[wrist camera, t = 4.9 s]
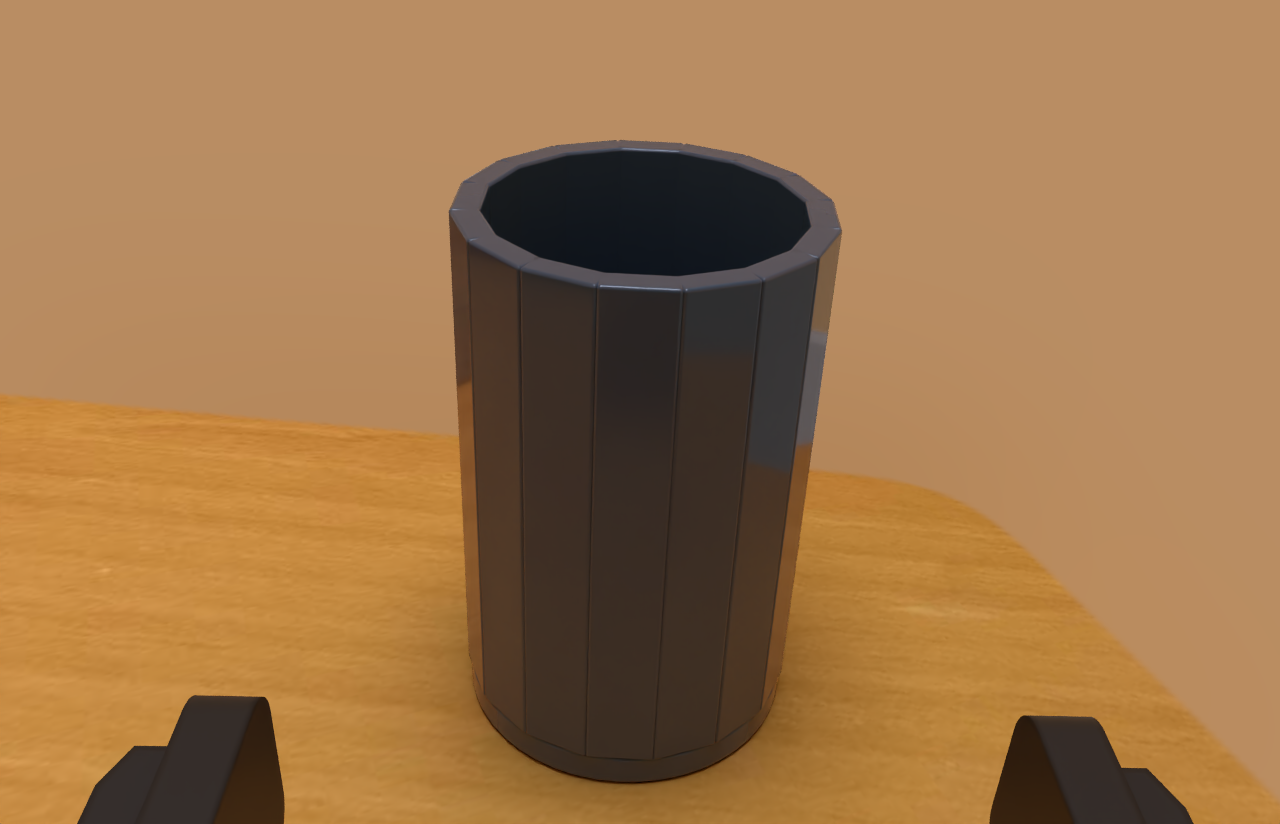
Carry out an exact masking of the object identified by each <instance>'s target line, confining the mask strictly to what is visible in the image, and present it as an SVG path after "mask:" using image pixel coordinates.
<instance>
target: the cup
mask: <svg viewBox="0 0 1280 824" xmlns="http://www.w3.org/2000/svg"><path fill="white" fill-rule="evenodd" d="M449 226H450V247H451V270H452V292H453V312H454V313H453V314H454V335H455V356H456V379H457V400H458V421H459V422H458V423H459V445H460V467H461V489H462V510H463V532H464V554H465V576H466V598H467V620H468V642H469V656H470V659H471V661H472V670H473V683H474V687H475V691H476V695H477V698H478V700H479V702H480V704H481V707H482V709H483V711H484V712H485V714H486V715H487V717H488V718H489V720H490V721H491V723H492V724H493V726H494V727H495V728H496V729H497V730H498V731H499V732H500V733H501V734H502V735H503V736H504V737H505V738H506V739H507V740H508V741H509V742H511V743H512V744H513V745H514V746H516V747H517V748H518V749H519V750H521V751H522V752H524V753H526V754H527V755H529V756H531V757H532V758H534V759H536V760H537V761H540V762H542V763H544V764H546V765H548V766H551V767H553V768H555V769H558V770H561V771H564V772H567V773H570V774H573V775H577V776H582V777H587V778H591V779H596V780H605V781H615V782H644V781H654V780H663V779H667V778H672V777H677V776H682V775H685V774H688V773H691V772H694V771H697V770H700V769H703V768H705V767H707V766H709V765H711V764H713V763H716V762H718V761H720V760H721V759H723V758H725V757H726V756H728V755H729V754H731V753H732V752H734V751H736V750H737V749H738V748H739V747H740V746H741V745H743V744H744V743H745V742H746V741H747V740H749V738H750V737H751V736H752V735H753V734H754V733H755V732H756V730H757V729H758V728H759V727H760V726H761V724H762V723H763V721H764V719H765V718H766V716H767V714H768V713H769V710H770V708H771V705H772V703H773V700H774V697H775V692H776V686H777V680H778V677H779V675H780V673H781V669H782V662H783V655H784V648H785V640H786V633H787V626H788V619H789V611H790V604H791V597H792V590H793V582H794V575H795V568H796V561H797V553H798V546H799V539H800V532H801V524H802V517H803V510H804V503H805V496H806V488H807V481H808V474H809V467H810V458H811V452H812V445H813V438H814V429H815V423H816V416H817V408H818V401H819V394H820V387H821V379H822V372H823V364H824V358H825V350H826V343H827V336H828V329H829V322H830V314H831V307H832V299H833V293H834V285H835V278H836V271H837V264H838V256H839V249H840V242H841V235H842V230H841V226H840V222H839V219H838V215H837V212H836V208H835V204H834V202H833V201H832V199H831V198H829V197H828V196H827V195H825V194H824V193H822V192H821V191H820V190H819V189H817V188H816V187H815V186H813V185H812V184H811V183H809V182H808V181H807V180H805V179H804V178H803V177H801V176H799V175H797V174H796V173H793V172H790V171H788V170H785V169H782V168H780V167H777V166H774V165H771V164H769V163H766V162H764V161H761V160H758V159H756V158H753V157H750V156H746V155H743V154H738V153H732V152H727V151H722V150H717V149H711V148H706V147H701V146H695V145H690V144H682V143H666V142H647V141H645V142H644V141H626V140H620V141H616V140H613V141H601V142H589V143H577V144H566V145H556V146H551V147H546V148H543V149H539V150H535V151H531V152H528V153H523V154H520V155H516V156H512V157H508V158H504V159H501V160H499V161H496V162H495V163H493V164H491V165H490V166H488V167H486V168H485V169H483V170H481V171H479V172H478V173H476V174H474V175H473V176H471V177H469V178H468V179H466V180H464V181H463V183H461V185H460V187H459V189H458V191H457V194H456V196H455V198H454V201H453V203H452V205H451V207H450V210H449Z"/></svg>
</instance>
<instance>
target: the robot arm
mask: <svg viewBox="0 0 1280 824" xmlns="http://www.w3.org/2000/svg"><path fill="white" fill-rule="evenodd" d="M77 824H284V792H283V785H282V779H281V773H280V767H279V760H278V754H277V748H276V742H275V736H274V729H273V723H272V717H271V711H270V706H269V703H268V701H267V699H266V698H265V697H244V696H197V695H194V696H192V697H191V698H190V699H189V700H188V701H187V703H186V704H185V706H184V708H183V710H182V712H181V715H180V717H179V720H178V722H177V724H176V727H175V729H174V731H173V734H172V736H171V739H170V741H169V743H168V746H134V747H133V748H132V749H131V750H130V751H129V752H128V753H127V754H126V755H125V756H124V757H123V758H122V759H121V760H120V761H119V762H118V763H117V764H116V765H115V766H114V767H113V768H112V769H111V770H110V771H109V772H108V773H107V774H106V775H105V776H104V777H103V778H102V779H101V780H100V781H99V782H98V783H97V784H96V785H95V787H94V789H93V791H92V793H91V796H90V798H89V800H88V802H87V804H86V806H85V808H84V810H83V813H82V815H81V817H80V819H79V821H78V823H77ZM990 824H1193V822H1192V820H1191V818H1190V816H1189V814H1188V812H1187V810H1186V808H1185V807H1184V806H1183V805H1182V804H1181V803H1180V802H1179V801H1178V800H1177V799H1176V798H1175V797H1174V796H1173V795H1172V794H1171V793H1170V791H1169V790H1168V789H1167V788H1166V787H1165V786H1164V785H1163V784H1162V783H1161V782H1160V781H1159V780H1158V779H1157V778H1156V777H1155V776H1154V775H1153V774H1152V773H1151V772H1150V771H1149V770H1148V769H1147V768H1121V766H1120V764H1119V762H1118V760H1117V757H1116V755H1115V753H1114V751H1113V749H1112V747H1111V744H1110V742H1109V740H1108V738H1107V736H1106V733H1105V731H1104V729H1103V728H1102V726H1101V725H1100V723H1099V722H1098V721H1097V720H1096V719H1095V718H1093V717H1070V716H1022V717H1020V719H1019V720H1018V721H1017V723H1016V726H1015V729H1014V732H1013V735H1012V739H1011V742H1010V746H1009V749H1008V753H1007V756H1006V760H1005V763H1004V767H1003V770H1002V774H1001V777H1000V780H999V784H998V787H997V791H996V794H995V798H994V801H993V805H992V809H991V814H990Z"/></svg>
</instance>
